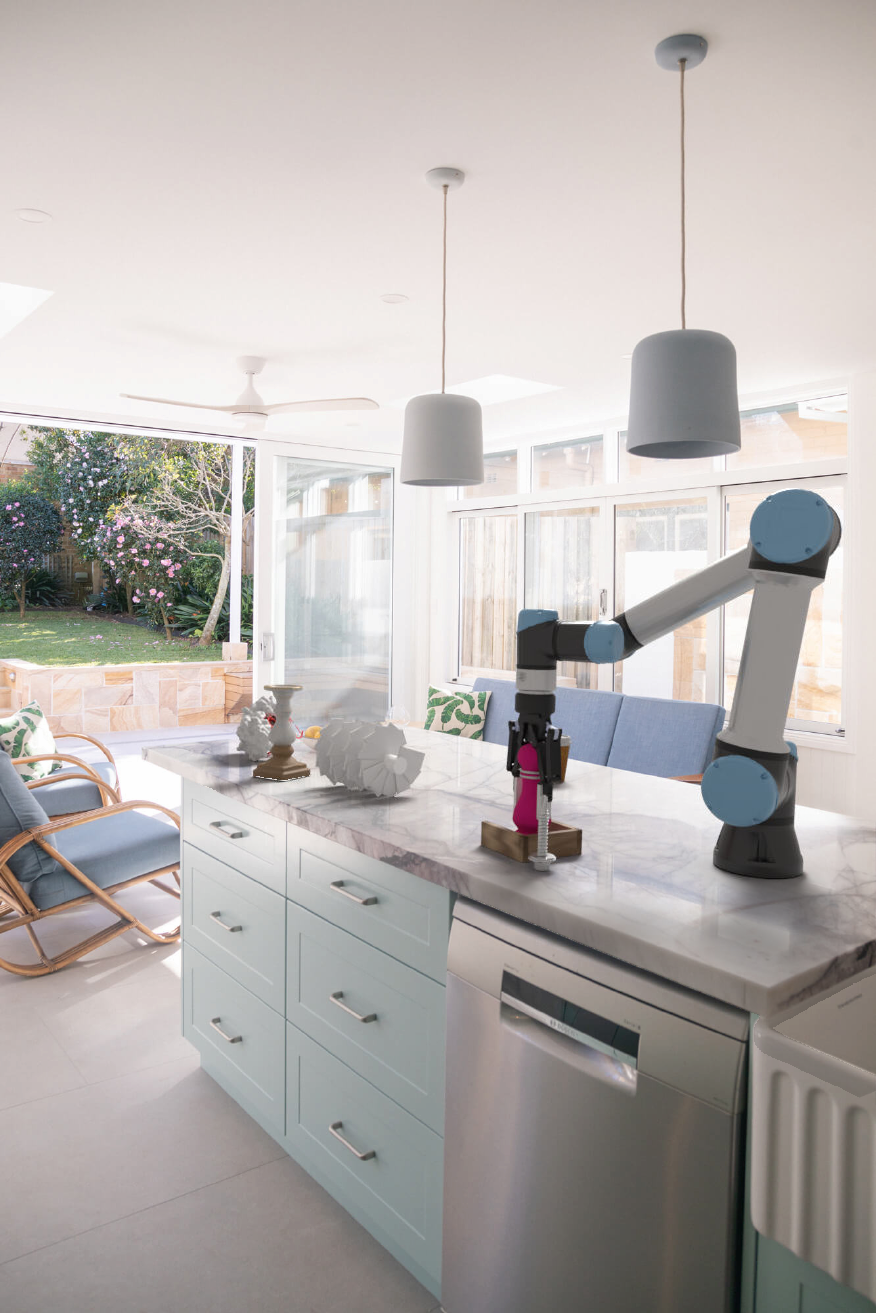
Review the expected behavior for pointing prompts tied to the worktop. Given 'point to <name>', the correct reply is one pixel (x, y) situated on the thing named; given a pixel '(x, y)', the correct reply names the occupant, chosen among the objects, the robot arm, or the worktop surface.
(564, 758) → the disposable coffee cup
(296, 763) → the candle holder
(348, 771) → the spiral staircase
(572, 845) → the u rest
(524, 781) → the pepper mill
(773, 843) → the robot arm
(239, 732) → the protein dna model
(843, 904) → the worktop surface
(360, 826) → the worktop surface
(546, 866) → the screw
